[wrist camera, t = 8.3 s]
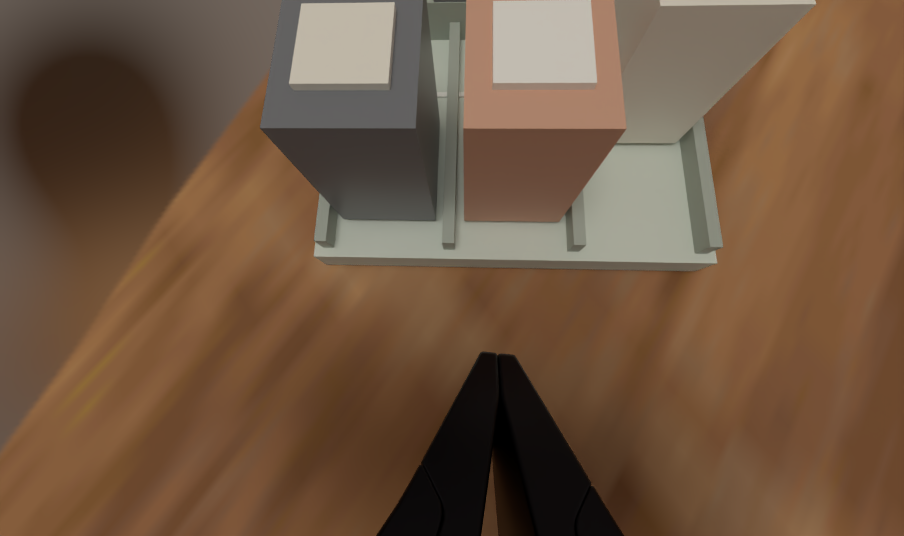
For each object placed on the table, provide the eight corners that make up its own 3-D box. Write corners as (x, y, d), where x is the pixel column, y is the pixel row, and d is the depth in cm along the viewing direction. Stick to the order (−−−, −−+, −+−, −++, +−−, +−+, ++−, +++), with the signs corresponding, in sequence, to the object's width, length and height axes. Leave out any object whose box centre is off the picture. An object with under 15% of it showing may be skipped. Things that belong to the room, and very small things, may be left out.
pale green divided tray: (694, 271, 20) (763, 247, 15) (326, 264, 21) (287, 239, 16) (665, 49, 23) (714, -25, 19) (350, 51, 24) (323, -19, 20)
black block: (435, 220, 19) (414, 122, 11) (343, 219, 19) (254, 122, 11) (439, 121, 20) (423, -31, 12) (353, 121, 20) (281, -29, 12)
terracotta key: (559, 222, 19) (631, 122, 11) (464, 220, 19) (463, 122, 11) (554, 121, 20) (615, -35, 12) (466, 121, 20) (466, -32, 12)
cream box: (675, 143, 19) (825, -5, 11) (582, 143, 20) (665, -3, 12) (663, 52, 21) (789, -138, 13) (577, 52, 21) (647, -134, 13)
